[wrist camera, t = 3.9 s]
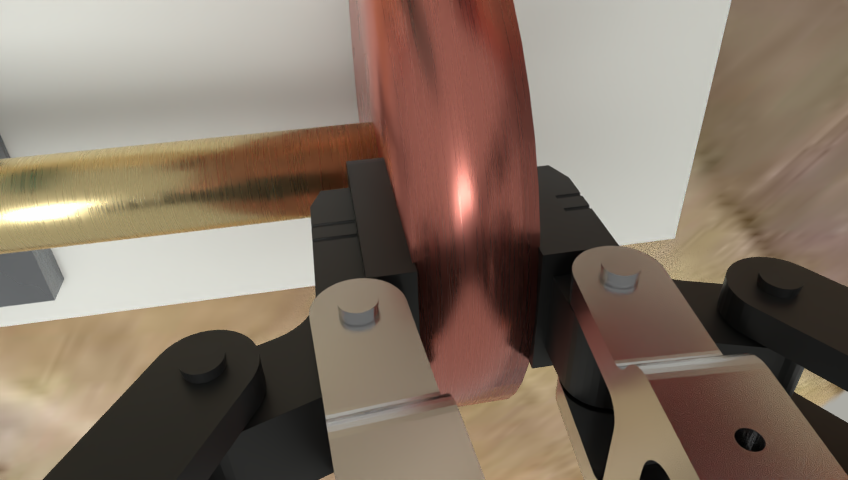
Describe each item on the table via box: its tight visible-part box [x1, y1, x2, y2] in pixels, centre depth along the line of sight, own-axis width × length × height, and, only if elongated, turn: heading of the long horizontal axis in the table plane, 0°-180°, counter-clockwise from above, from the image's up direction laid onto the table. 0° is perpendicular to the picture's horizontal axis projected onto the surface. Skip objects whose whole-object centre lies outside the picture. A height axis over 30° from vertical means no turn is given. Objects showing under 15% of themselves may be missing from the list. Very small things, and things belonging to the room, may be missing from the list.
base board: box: [0, 0, 731, 327], centre depth 18 cm, size 26×14×1 cm, turn 92°
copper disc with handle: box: [0, 0, 540, 407], centre depth 12 cm, size 18×10×10 cm, turn 92°
